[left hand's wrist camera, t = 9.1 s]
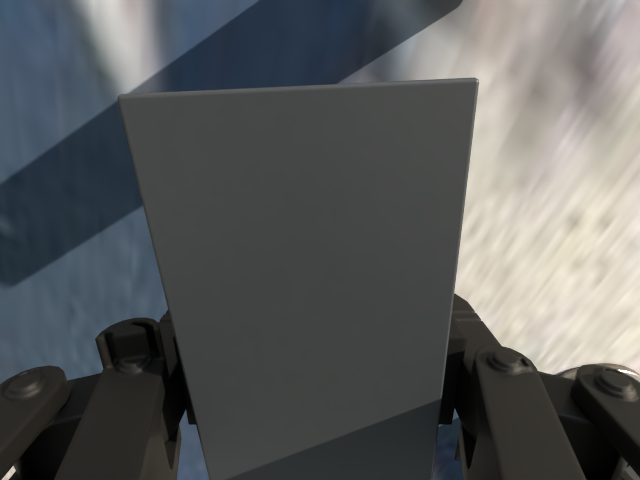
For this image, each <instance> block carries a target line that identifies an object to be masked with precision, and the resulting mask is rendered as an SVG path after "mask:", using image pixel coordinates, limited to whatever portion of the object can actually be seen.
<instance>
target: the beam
mask: <svg viewBox="0 0 640 480" xmlns="http://www.w3.org/2000/svg"><path fill="white" fill-rule="evenodd" d="M478 86H479V81H478V79H476V78H457V79H436V80H414V81H393V82H372V83H351V84H330V85H308V86H287V87H266V88H245V89H224V90H202V91H181V92H160V93H139V94H121V95H120V96H118V103H119V108H120V112H121V116H122V120H123V124H124V128H125V132H126V136H127V141H128V145H129V149H130V153H131V157H132V161H133V165H134V170H135V174H136V178H137V182H138V186H139V190H140V194H141V198H142V203H143V207H144V211H145V215H146V219H147V223H148V227H149V231H150V236H151V240H152V244H153V248H154V252H155V256H156V260H157V265H158V269H159V273H160V277H161V281H162V285H163V289H164V293H165V298H166V302H167V306H168V310H169V314H170V318H171V322H172V326H173V331H174V335H175V339H176V343H177V347H178V351H179V355H180V360H181V364H182V368H183V372H184V376H185V380H186V384H187V388H188V393H189V397H190V401H191V405H192V409H193V413H194V417H195V422H196V426H197V430H198V434H199V438H200V442H201V446H202V450H203V455H204V459H205V463H206V467H207V471H208V475H209V479H210V480H432V476H433V467H434V459H435V450H436V442H437V434H438V425H439V417H440V408H441V400H442V391H443V383H444V374H445V366H446V357H447V349H448V340H449V332H450V323H451V315H452V306H453V298H454V289H455V281H456V272H457V264H458V255H459V247H460V239H461V230H462V222H463V213H464V205H465V196H466V188H467V179H468V171H469V162H470V154H471V145H472V137H473V128H474V120H475V111H476V103H477V94H478Z"/></svg>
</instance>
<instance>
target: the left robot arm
mask: <svg viewBox="0 0 640 480" xmlns="http://www.w3.org/2000/svg"><path fill="white" fill-rule="evenodd" d="M95 340H96V343H97V347H98V351H99V354H100V358H101V361H102V365H103V368H104V369H103V371H102V373H99V374H96V375H91V376H87V377H82V378H77V379H73V380H68V381H67V379H66V376H65V373H64V371H63V370H62V369H61V368H59V367H55V366H43V367H36V368H33V369H30V370H26V371H23V372H21V373H19V374H17V375H15V376H13V377H11V378H9V379H7V380H6V381H5V382H3V383H2V384H0V480H1V479H2V478H3V477H4V476H5V475H6V473H7V472H8V471H9V470H10V469H11V467H12V466H13V465H14V467H15V470H16V472H15V473H14V474H13V475H12V477H11V478H10V479H9V480H177V471H178V463H179V454H180V445H181V432H180V427H179V423H180V421H181V418H182V416H183V414H184V412H185V410H186V411H187V417H188V422H189V424H196V422H195V417H194V413H193V409H192V405H191V401H190V397H189V393H188V388H187V384H186V380H185V376H184V372H183V368H182V364H181V360H180V355H179V351H178V347H177V343H176V339H175V335H174V331H173V326H172V322H171V318H170V314H169V310H167V312H166V314H164V316H163V317H162V318H161V319H160V322H156V321H155V320H154V319H149V318H133V319H129V320H124V321H121V322H119V323H116V324H114V325H111V326H110V327H108V328H107V329H105V330H104V331H102V332H101V333H100V334H99V335H98V336H97V338H96V339H95ZM454 408H455V409H456V412H457V414H458V416H459V418H460V420H461V427H460V432H459V437H458V442H457V447H456V452H455V459H454V460H458V461H459V459H460V454H461V462H462V471H463V479H464V480H633V479H632V478H631V476H630V475H629V474H628V473H627V472H626V470H625V469H626V466H627V464H629V466H630V467H631V468H632V469H633V470H634V472H635V473H636V474H637V475H638V476H639V477H640V382H639V381H637V380H636V379H634V378H633V377H631V376H629V375H627V374H625V373H623V372H621V371H619V370H616V369H614V368H613V369H612V368H610V367H606V366H601V365H594V364H590V365H582V366H581V367H580V368H579V369H577V372H576V374H575V377H574V379H570V378H565V377H561V376H556V375H551V374H547V373H543V372H539V371H537V368H536V367H535V366H534V364H533V363H532V362H531V360H529V359H528V358H527V357H525V356H524V355H523V354H521V353H519V352H517V351H515V350H513V349H510V348H506V347H503V346H501V345H500V343H499V342H498V341H497V339H496V338H495V337H494V336H493V334H492V333H491V332H490V330H489V329H488V328H487V327H486V325H485V324H484V323H483V321H481V319H480V317H479V316H478V315H477V314H476V313H475V311H474V310H473V308H472V307H471V306H470V304H469V303H468V302H467V301H465V300H464V299H462V298H461V297H459V296H458V295H456V294H454V298H453V306H452V315H451V323H450V332H449V340H448V349H447V357H446V366H445V374H444V383H443V391H442V400H441V408H440V417H439V424H452V419H453V413H454Z"/></svg>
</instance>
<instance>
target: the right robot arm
mask: <svg viewBox="0 0 640 480" xmlns="http://www.w3.org/2000/svg"><path fill="white" fill-rule="evenodd" d="M594 365H601V366H606V367H610V368H612V369H613V368H614V369H616V370H619V371H621V372H623V373H625V374H627V375H629V376H631V377H633V378H634V379H636V380H637V381H639V382H640V375H639V374H638V373H637V372H635V371H634V370H632V369H630V368H627V367H625V366H621V365H616V364H594ZM579 368H580V367H579ZM579 368H575V369H573V370H570V371H568V372H566V373H563V374H561V375H560V376H561V377H565V378H570V379H574V377H575V374H576V372H577V369H579ZM625 470H626V472H627V473H628V474H629V475H630V476H631V478H632V479H633V480H640V477H639V476H638V475H637V474H636V473H635V472H634V470H633V469H632V468H631V467H630V466H629V464H627V466H626V469H625Z"/></svg>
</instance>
